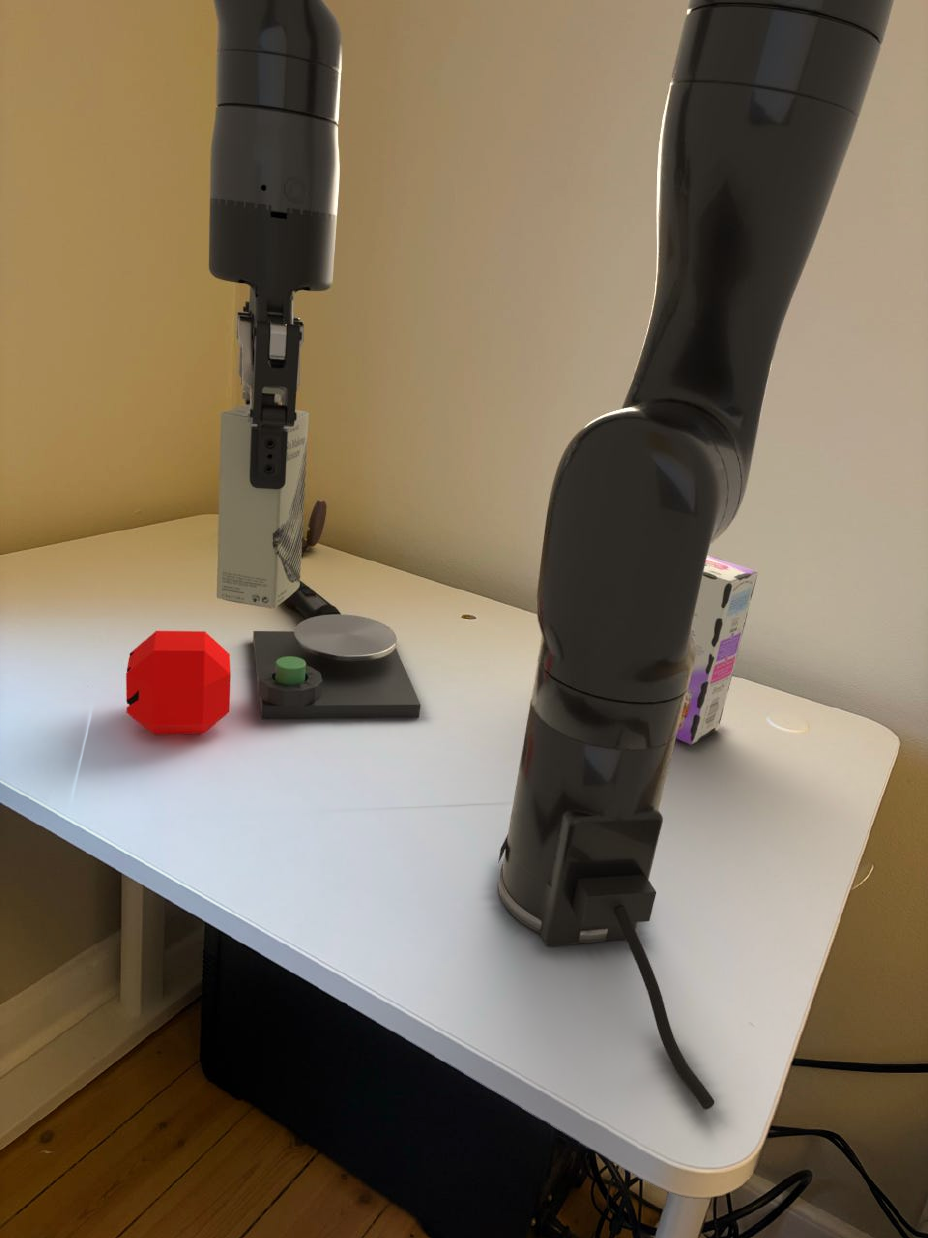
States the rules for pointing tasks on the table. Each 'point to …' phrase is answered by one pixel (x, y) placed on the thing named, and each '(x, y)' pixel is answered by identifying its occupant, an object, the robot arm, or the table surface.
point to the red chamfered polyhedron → (178, 682)
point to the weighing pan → (345, 637)
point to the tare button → (290, 670)
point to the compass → (315, 525)
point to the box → (259, 517)
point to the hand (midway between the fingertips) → (263, 472)
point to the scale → (331, 684)
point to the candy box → (715, 644)
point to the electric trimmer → (309, 603)
